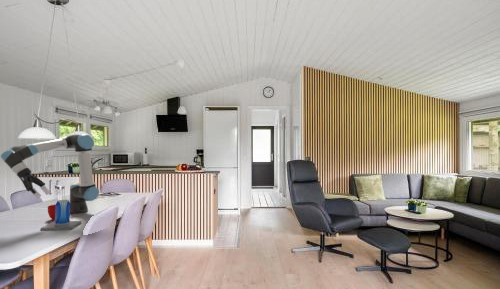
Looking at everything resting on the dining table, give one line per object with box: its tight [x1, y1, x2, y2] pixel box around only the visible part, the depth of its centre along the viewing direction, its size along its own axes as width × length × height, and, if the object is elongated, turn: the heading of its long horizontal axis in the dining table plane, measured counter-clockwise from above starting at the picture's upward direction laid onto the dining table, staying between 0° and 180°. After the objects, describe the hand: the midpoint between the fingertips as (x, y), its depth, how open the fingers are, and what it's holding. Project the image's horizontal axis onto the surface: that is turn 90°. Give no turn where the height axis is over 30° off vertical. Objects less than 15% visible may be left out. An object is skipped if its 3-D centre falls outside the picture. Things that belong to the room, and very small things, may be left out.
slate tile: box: [40, 220, 83, 231], centre depth 198 cm, size 18×18×2 cm
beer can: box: [54, 199, 71, 226], centre depth 198 cm, size 8×8×16 cm
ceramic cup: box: [47, 204, 71, 221], centre depth 218 cm, size 13×17×10 cm
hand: (44, 195), depth 198 cm, fingers open, 13 cm apart
